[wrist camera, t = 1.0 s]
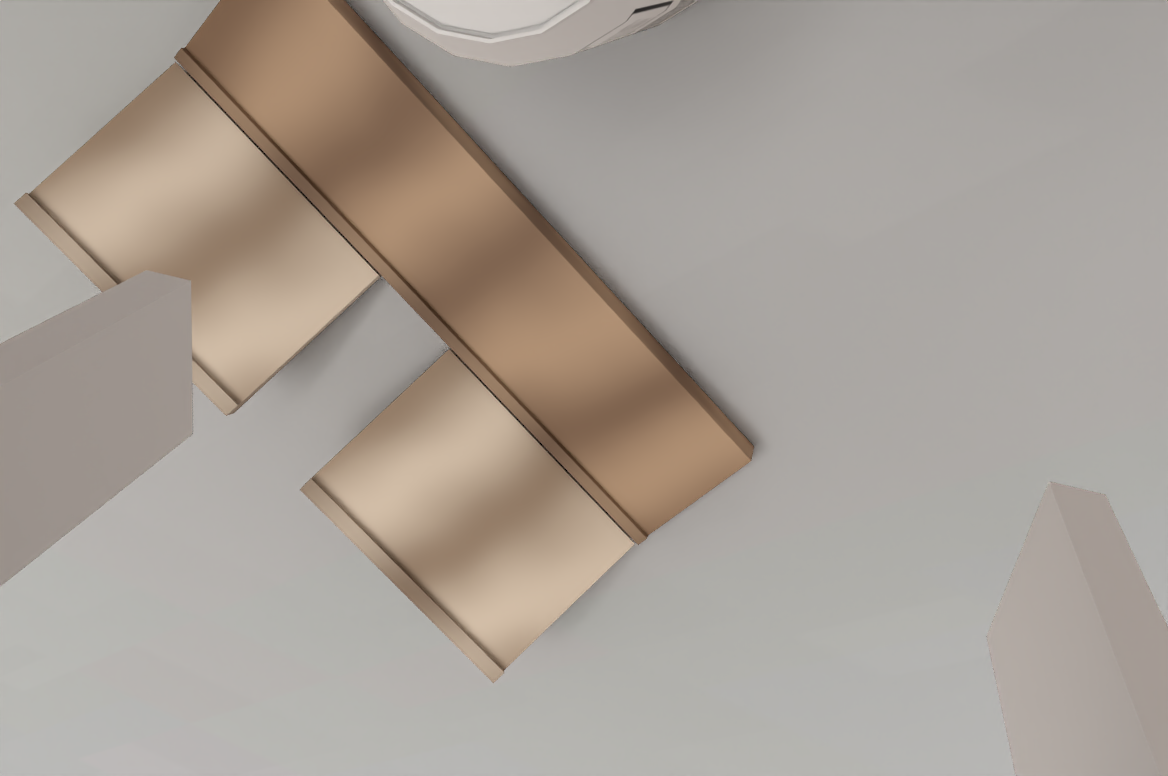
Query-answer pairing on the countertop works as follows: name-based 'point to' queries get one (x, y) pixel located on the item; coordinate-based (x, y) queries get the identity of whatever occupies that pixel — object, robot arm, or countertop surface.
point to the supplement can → (529, 25)
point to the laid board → (467, 253)
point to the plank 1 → (203, 233)
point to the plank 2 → (468, 515)
